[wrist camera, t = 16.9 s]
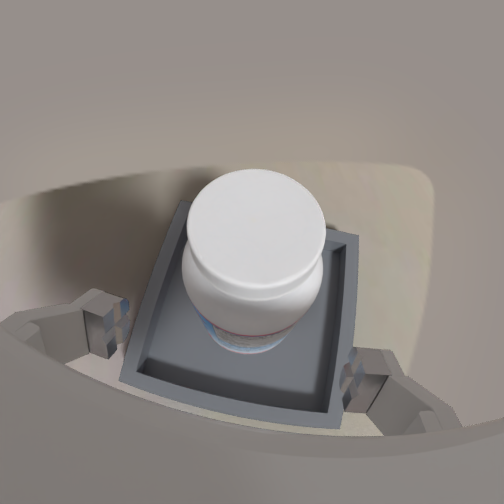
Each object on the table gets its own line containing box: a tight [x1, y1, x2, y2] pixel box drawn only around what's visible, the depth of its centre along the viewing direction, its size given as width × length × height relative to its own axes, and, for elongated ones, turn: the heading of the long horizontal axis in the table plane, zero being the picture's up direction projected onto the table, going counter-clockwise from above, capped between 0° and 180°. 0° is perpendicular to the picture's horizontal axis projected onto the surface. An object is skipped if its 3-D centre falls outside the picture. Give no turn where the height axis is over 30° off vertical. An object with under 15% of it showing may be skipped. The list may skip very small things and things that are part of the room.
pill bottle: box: [182, 169, 326, 354], centre depth 14 cm, size 6×6×11 cm
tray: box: [119, 200, 359, 429], centre depth 19 cm, size 14×14×2 cm
